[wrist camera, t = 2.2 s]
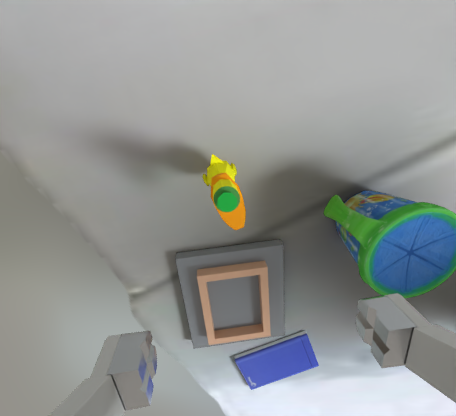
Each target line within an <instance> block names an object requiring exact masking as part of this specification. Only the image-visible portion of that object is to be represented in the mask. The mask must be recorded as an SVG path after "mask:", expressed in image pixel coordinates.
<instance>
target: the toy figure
mask: <svg viewBox="0 0 456 416" xmlns="http://www.w3.org/2000/svg"><path fill="white" fill-rule="evenodd" d="M236 174H237V170H236V167H235V165H234V164H233V163H231V165H230V164H229V163H228V162H227V161H222V160H220V159H219V158H217V157H216V156H215V155H213V154H212V157H211V163H210V166H209V167H208V168H207V176H206V175H205V174H203V176H202V177H203V180H204V182H205V183H206V185H207V186H209V185H210V186H211V198H212V201H213V203H214V205H215V207H216V209H217V211H218V213H219V214H220V216H221V218H222V219H223V220H224V221H225V223H226V224H227V225H228V226H230V227H231V228H233V229H234V230H238V229H240V228H243V227H244V223H245V219H246V210H245V206H244V201H243V197H242V194H241V191H240V188H239V186H238V185H237V184H236V183H235V175H236Z"/></svg>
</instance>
